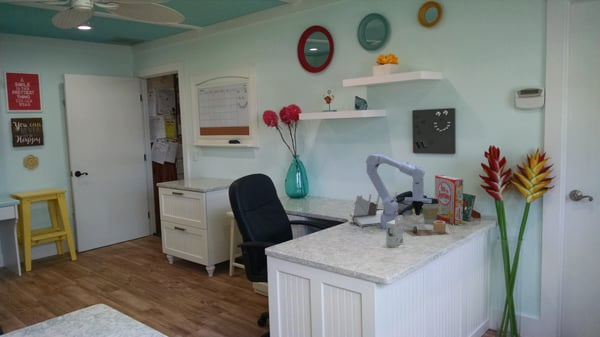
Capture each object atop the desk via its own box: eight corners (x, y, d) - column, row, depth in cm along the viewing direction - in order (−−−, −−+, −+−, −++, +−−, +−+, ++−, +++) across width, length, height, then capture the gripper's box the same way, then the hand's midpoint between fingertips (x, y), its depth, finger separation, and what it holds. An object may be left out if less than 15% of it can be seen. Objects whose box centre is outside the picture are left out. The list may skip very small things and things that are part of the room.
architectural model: (343, 215, 276) (348, 184, 267) (384, 211, 286) (390, 181, 278) (358, 232, 259) (364, 200, 250) (401, 227, 269) (408, 196, 261)
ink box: (394, 242, 224) (394, 213, 222) (403, 244, 221) (403, 214, 219) (385, 246, 217) (385, 216, 216) (395, 247, 214) (395, 217, 213)
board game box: (433, 218, 279) (434, 175, 276) (442, 217, 280) (443, 174, 278) (453, 225, 259) (454, 179, 256) (463, 224, 261) (464, 178, 258)
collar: (445, 231, 236) (445, 223, 235) (434, 231, 237) (434, 223, 236) (444, 229, 241) (444, 221, 241) (433, 229, 242) (433, 221, 242)
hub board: (412, 238, 231) (412, 228, 230) (403, 233, 243) (403, 223, 242) (450, 236, 234) (450, 226, 233) (440, 231, 246) (440, 221, 245)
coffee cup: (423, 222, 269) (424, 197, 267) (440, 223, 264) (441, 198, 262) (419, 225, 260) (419, 199, 259) (436, 227, 255) (436, 201, 254)
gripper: (433, 190, 241) (433, 215, 242) (408, 188, 250) (408, 212, 251) (428, 192, 235) (428, 217, 237) (403, 190, 244) (402, 214, 245)
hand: (417, 215), depth 243 cm, fingers closed
